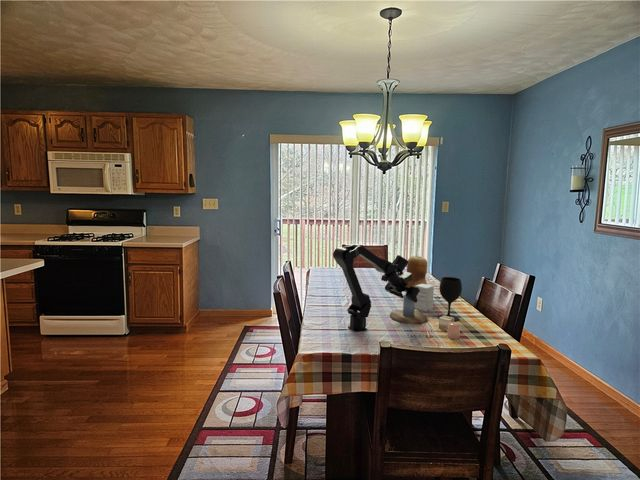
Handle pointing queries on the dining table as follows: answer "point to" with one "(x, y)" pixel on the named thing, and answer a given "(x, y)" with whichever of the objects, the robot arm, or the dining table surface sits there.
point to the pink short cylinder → (453, 330)
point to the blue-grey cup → (408, 307)
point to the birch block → (445, 322)
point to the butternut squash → (417, 270)
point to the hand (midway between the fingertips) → (409, 299)
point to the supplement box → (424, 297)
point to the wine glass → (450, 292)
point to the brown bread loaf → (416, 319)
